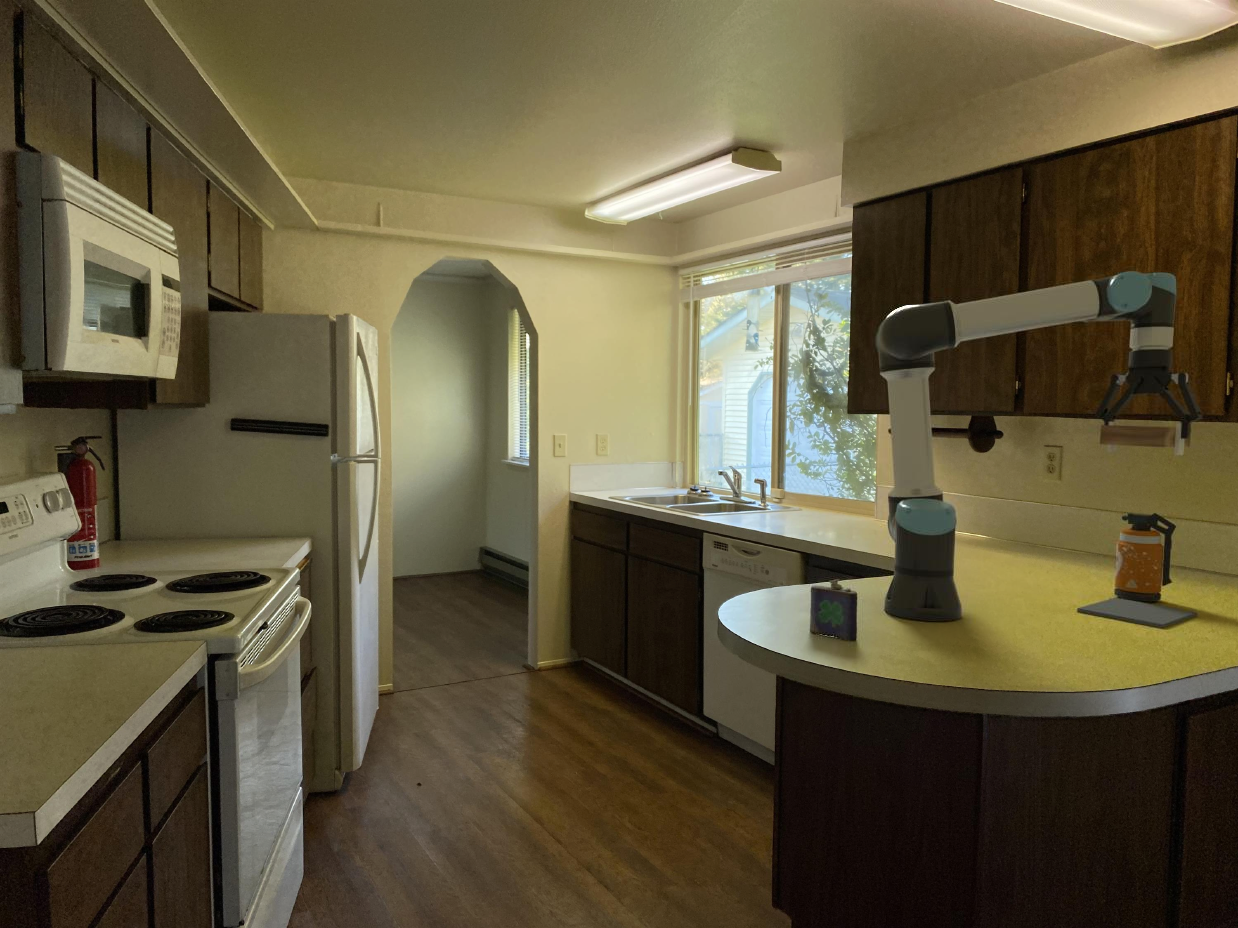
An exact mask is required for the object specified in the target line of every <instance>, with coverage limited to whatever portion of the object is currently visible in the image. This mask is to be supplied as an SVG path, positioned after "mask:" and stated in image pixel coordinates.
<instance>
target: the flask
mask: <svg viewBox="0 0 1238 928" xmlns="http://www.w3.org/2000/svg"><path fill="white" fill-rule="evenodd" d="M839 582H840V579H839V578H838V579H836V578H835V579H833V580H829V584H830V586H824V585H812V586H811V588H810V614H809V615H810V617H809V619H810V620H809V632H811V633H812V634H813V633H815V634H814V635H816V634H818V635H819V634H822V635H827V636H834V637H837V638H841V639H844V640H843V641H846V640H847V641H846V642H852V641H854V642H856V641H857V636H858V635H857V634H858V621H857V619H858V615H857V614H858V593H857V591H856V590H851V588H848V587H846V588H845V587H843V585H841V584H840V583H839ZM822 635H821V636H822ZM834 637H833V638H834ZM841 639H840V640H841ZM855 640H856V641H855Z"/></svg>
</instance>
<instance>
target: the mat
mask: <svg viewBox="0 0 1238 928" xmlns="http://www.w3.org/2000/svg"><path fill="white" fill-rule="evenodd" d="M1076 612H1077V613H1081V614H1087V615H1091V616H1097V617H1102V618H1107V619H1110V620H1111V619H1112V620H1117V621H1123V622H1128V623H1133V624H1139V625H1142V626H1147V627H1148V626H1149V627H1154V628H1159V629H1164V628H1167V627H1170V626H1172V625H1176V624H1179V623H1182V622H1184V621H1187V620H1190V619H1192V618H1195V617H1198V611H1195V610H1193V611H1192V610H1188V609H1182V608H1176V607H1172V606H1165V605H1160V604H1153V603H1149V602H1148V603H1145V602H1137V601H1131V600H1125V599H1122V598H1121V597H1120V598H1119V597H1112V598H1108V599H1104V600H1103V601H1098V602H1095V603H1091V604H1087V605H1083V606H1081V607H1077V609H1076Z"/></svg>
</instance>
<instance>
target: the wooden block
mask: <svg viewBox="0 0 1238 928" xmlns="http://www.w3.org/2000/svg"><path fill="white" fill-rule="evenodd" d="M1191 434H1192V429H1191V430H1190V437H1189V439H1184V448H1187V447H1188V448H1190V446H1191V437H1192V435H1191ZM1175 435H1176V426H1157V425H1155V426H1153V425H1152V426H1149V425H1119V424H1118V425H1104V424H1101V425H1100V436H1099V437H1100V438H1099V445H1105V446H1106V445H1107V446H1108V445H1117V446H1126V447H1127V446H1129V447H1130V446H1131V447H1133V446H1134V447H1150V448H1151V447H1152V448H1153V447H1154V448H1175Z"/></svg>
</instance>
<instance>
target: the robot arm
mask: <svg viewBox="0 0 1238 928" xmlns="http://www.w3.org/2000/svg"><path fill="white" fill-rule="evenodd" d="M1176 279H1177V278H1176V276H1175V275H1174V274H1172V273H1170V272H1169V273H1168V272H1152V273H1149V272H1148V273H1142V272H1139V271H1136V270H1135V271H1133V270H1131V271H1124V272H1119V273H1117V274H1116V275H1112V276H1108V277H1107V276H1106V277H1102V278H1096V279H1091V280H1085V281H1080V282H1079V281H1078V282H1072V283H1069V284H1063V285H1057V286H1051V287H1047V288H1040V289H1034V290H1030V291H1024V292H1018V293H1013V294H1012V293H1011V294H1006V295H1003V296H1002V295H1001V296H996V297H991V298H984V299H979V300H973V301H967V302H962V303H958V304H956V303H954V302H953V301H951V300H944V301H939V302H933V303H923V304H922V303H921V304H910V305H904V306H902V307H899V308H897V309H895V310H893V311H892V312H890V313H889V314H888V315H887V316H886V318H885V319H884V320H883V321H882V322H881V323H880V325H879V326H878V329H877V332H876V334H875V347H876V349H877V350H876V351H877V353H878V362H879V375H880V376H882V378H884V379H885V380H886V382H887V392H888V393H887V394H888V407H889V409H888V411H889V422H890V423H889V424H890V436H891V440H890V441H891V456H892V468H893V484H894V486H893V488H892V489H891V490H890V491H889V492H888V493H887V498H888V499H887V500H888V519H887V530H888V533H889V535H890V537H891V539H892V540H893V542H894V543H895V544H894V570H893V571H894V574H893V576H892V579H891V582H890V584H889V587H888V590H887V593H886V595H885V598H884V608H883V610H884V611H885V612H886V613H887V614H890V615H893V616H895V617H899V618H902V619H903V618H904V619H908V620H915V621H921V622H922V621H924V622H951V621H956V620H959V619H961V618H962V614H963V613H962V611H963V606H962V603H961V600H960V596H959V593H958V589H957V586H956V583H955V577H954V574H955V551H956V550H955V548H956V547H955V546H956V526H957V515H956V509H955V507H954V506H953V505H952V504H951V503H949V502H947V501H944V493H943V491H942V490H941V489H940V488H939V486H937V485H936V479H935V467H934V465H935V463H934V449H933V448H934V447H933V434H932V433H933V432H932V419H931V403H930V385H929V384H930V383H929V377H930V375H931V374H932V373H933V372H934V371H935V370H936V366H935V364H936V363H935V352H940V351H942V350H946V349H954V348H957V346H958V345H959V344H960V343H961V342H965V341H971V340H977V339H982V338H988V337H995V336H999V335H1004V334H1010V333H1017V332H1023V331H1027V330H1028V331H1029V330H1033V329H1034V330H1035V329H1039V328H1045V327H1052V326H1056V325H1057V326H1058V325H1064V324H1070V323H1074V322H1084V323H1088V322H1114V321H1115V322H1120V321H1122V322H1129V321H1130V334H1129V335H1130V337H1129V348H1130V349H1132V350H1131V351H1130V352H1129V353H1128V368H1127V369H1128V372H1127V373H1126V374H1125V375H1124V374H1122V375H1121V374H1112V375H1111V376H1110V383H1109V386H1108V389H1107V390H1106V392H1105V394H1104V396H1103V399H1102V400H1101V402H1100V404H1099V406H1098V408H1097V410H1096V412H1095V414H1094V417H1095V418H1096V419H1100V420H1102V421H1103V422H1104V424H1103V425H1118V426H1119V422H1118V421H1116V419H1117V417H1118V416H1119V415H1121V413H1122V412H1123V410H1124V409H1125V408H1126V407H1127V406H1128V405H1129V403H1130V402H1131V401H1132V400H1133V399H1134V398H1135V397H1137V395H1159V396H1160V397H1162V399H1163V400H1164V401H1165V403H1167V405H1168V406H1169V408H1170V409H1171V410H1172V411H1173V413H1174V414H1175V416H1176V417H1177V418H1178V419H1179V422H1176V423H1175V427H1176V435H1175V447H1174V453H1173V454H1174V456H1183V455H1184V452H1185V451H1184V450H1185V447H1184V439H1189V437H1190V430H1191V431H1192V427H1191V426H1192V424H1193V422H1196V421H1200V420H1202V419H1203V414H1202V411H1201V409H1200V406H1199V404H1198V402H1197V399H1196V397H1195V395H1194V393H1193V390H1192V388H1191V385H1190V374H1189V373H1186V372H1180V373H1174V374H1173V372H1172V363H1173V351H1172V350H1171V349H1170V348H1172V347H1173V346H1174V345H1173V343H1174V329H1175V328H1174V326H1175V324H1174V323H1175V314H1176V301H1177V296H1178V295H1177V280H1176ZM1172 381H1174V383H1175V384H1176V385H1178V389H1179V391H1180V394H1181V396H1182V398H1183V401H1184V403H1185V405H1186V408H1187V410H1188V412H1187V411H1186V409H1185V408H1184V406H1183V405H1182V404H1181V403H1180V402H1179V400H1178V399H1177V398H1176V396H1175V395H1174V393H1173V392H1172V390H1171V389H1170V388H1169V385H1170V383H1172ZM1125 382H1126V383H1127V384H1128V385H1129V387H1127V389H1126V390H1125V391H1124V392H1123V395H1122V396H1121V397H1120V398H1119V399H1118V401H1116V403H1115V404H1114V405H1112V404H1113V402H1114V400H1115V399H1116V397H1117V395H1118V393H1119V391H1120V388H1121V386H1123V384H1124V383H1125ZM1111 406H1112V407H1111ZM1117 446H1118V445H1107V451H1106V452H1107V453H1117V449H1118V448H1117Z"/></svg>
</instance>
